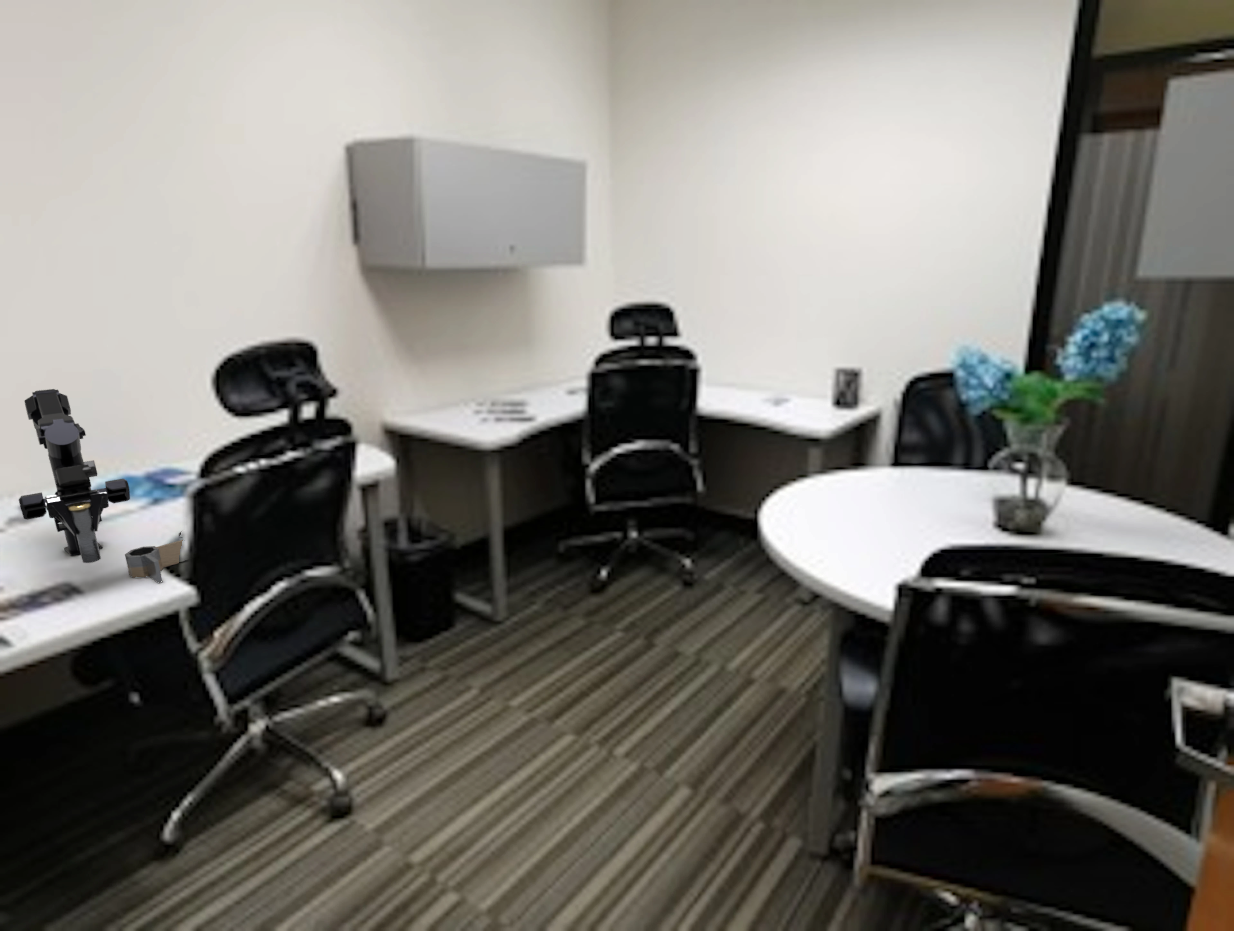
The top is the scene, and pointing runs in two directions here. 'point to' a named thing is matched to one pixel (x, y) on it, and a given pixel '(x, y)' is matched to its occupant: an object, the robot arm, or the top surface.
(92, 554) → the hinge pin
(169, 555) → the bronze hinge
